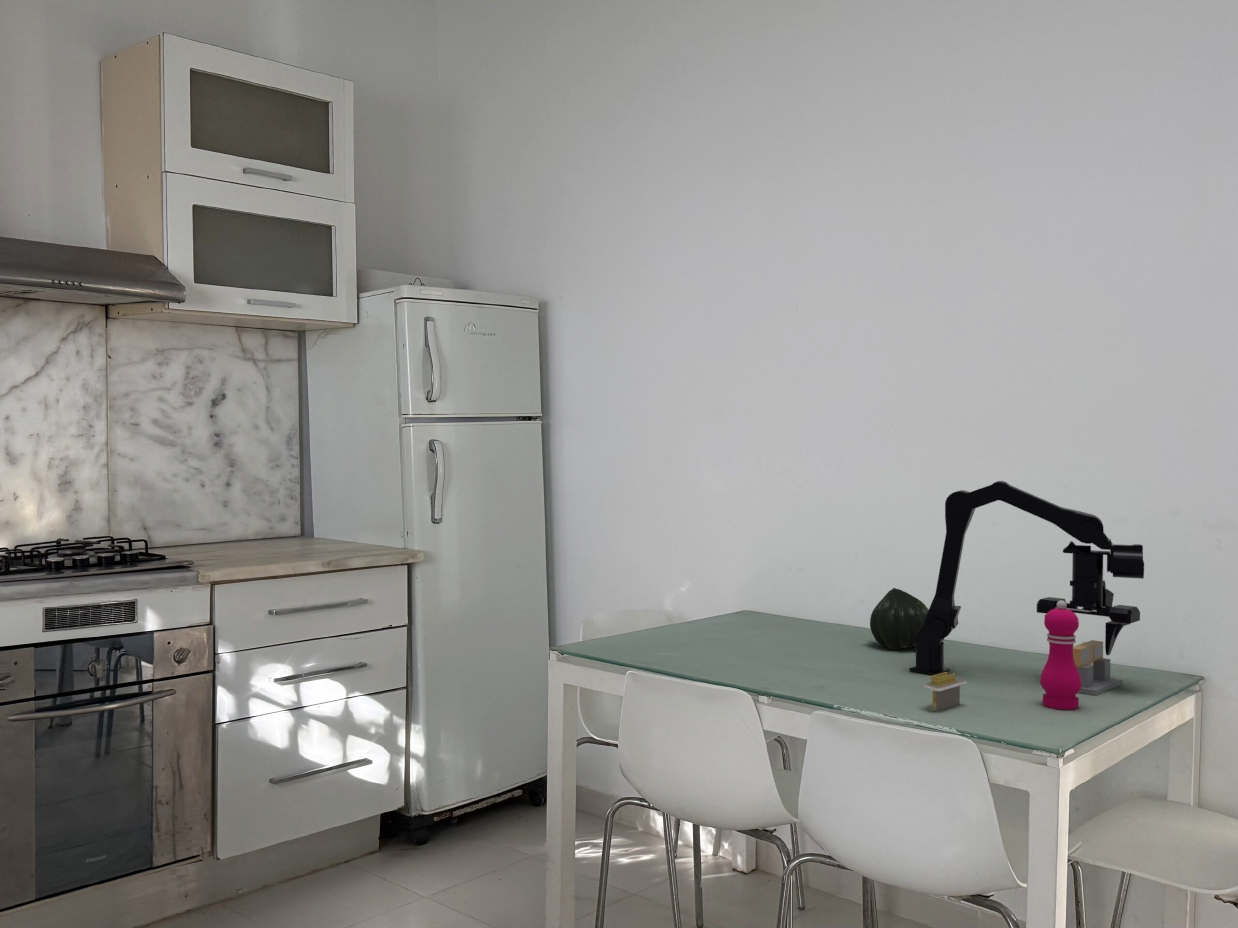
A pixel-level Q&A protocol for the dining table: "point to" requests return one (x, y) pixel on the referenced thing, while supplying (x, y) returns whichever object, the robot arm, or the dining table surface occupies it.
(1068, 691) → the pepper mill
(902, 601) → the squash
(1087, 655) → the tan wooden bar
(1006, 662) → the dining table surface
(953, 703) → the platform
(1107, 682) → the display stand
